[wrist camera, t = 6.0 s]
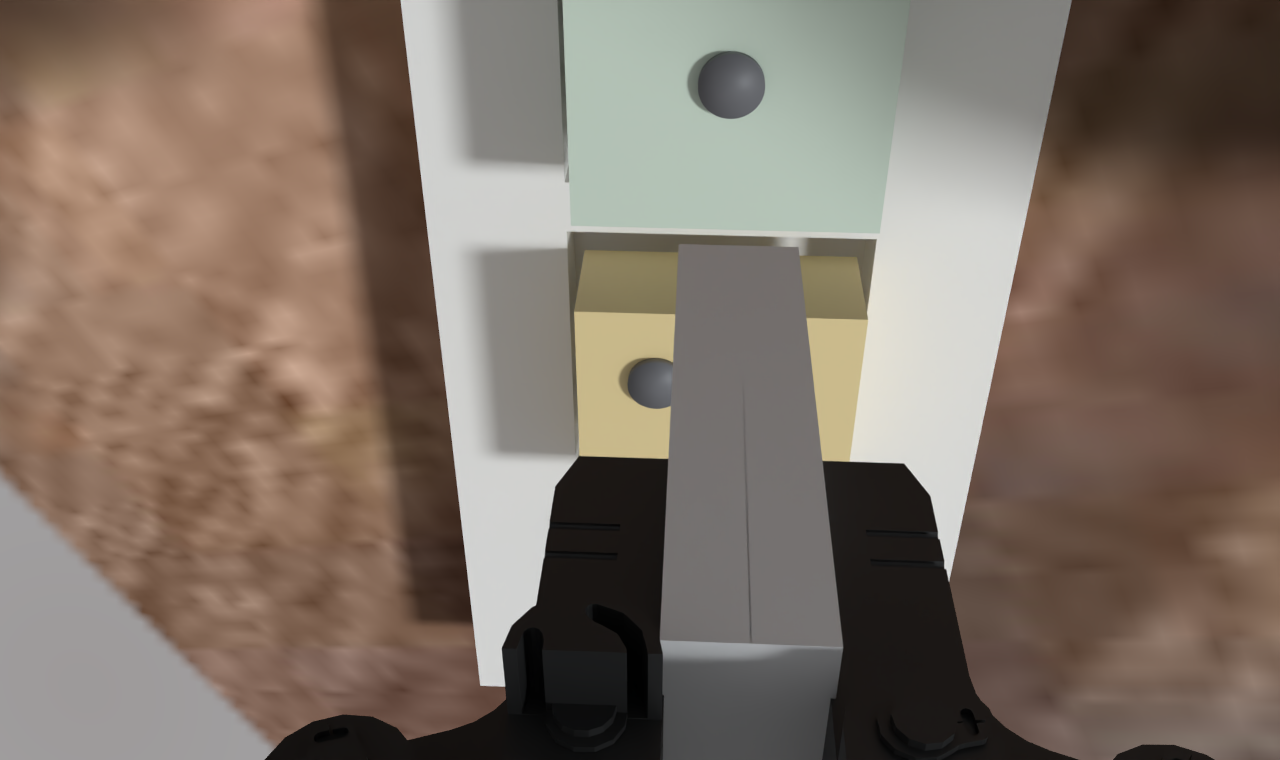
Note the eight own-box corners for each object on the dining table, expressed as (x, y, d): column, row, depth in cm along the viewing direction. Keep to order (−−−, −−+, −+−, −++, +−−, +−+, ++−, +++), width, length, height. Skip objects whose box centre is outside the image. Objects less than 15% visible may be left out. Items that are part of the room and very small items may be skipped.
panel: (406, -220, 24) (378, -193, 22) (1076, -213, 24) (1110, -185, 22) (492, 621, 38) (480, 685, 36) (912, 638, 38) (923, 703, 36)
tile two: (584, 250, 27) (573, 316, 25) (857, 257, 27) (869, 325, 25) (590, 458, 31) (581, 532, 29) (831, 465, 30) (840, 541, 28)
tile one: (573, -130, 22) (557, -88, 20) (903, -126, 22) (923, -83, 20) (581, 167, 26) (570, 230, 24) (867, 174, 26) (880, 238, 24)
